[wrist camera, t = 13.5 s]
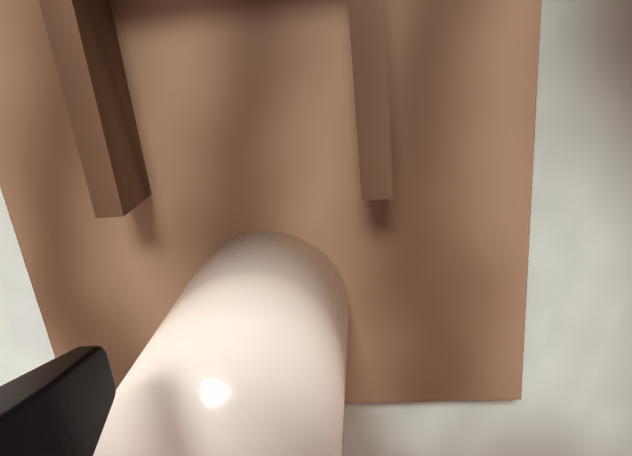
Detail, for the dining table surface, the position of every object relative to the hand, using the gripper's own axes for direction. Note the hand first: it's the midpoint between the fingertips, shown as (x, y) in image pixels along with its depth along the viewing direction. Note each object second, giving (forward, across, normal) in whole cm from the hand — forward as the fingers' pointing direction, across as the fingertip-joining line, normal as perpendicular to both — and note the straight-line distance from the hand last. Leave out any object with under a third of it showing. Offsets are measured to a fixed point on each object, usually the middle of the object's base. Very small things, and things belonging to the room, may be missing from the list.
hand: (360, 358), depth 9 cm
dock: (+12, +4, 0) cm, 13 cm away
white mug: (+11, +4, +7) cm, 13 cm away
